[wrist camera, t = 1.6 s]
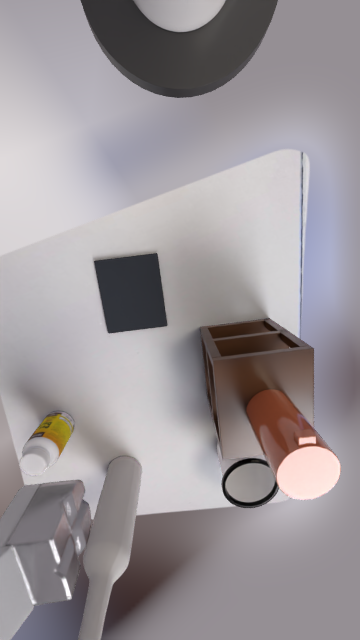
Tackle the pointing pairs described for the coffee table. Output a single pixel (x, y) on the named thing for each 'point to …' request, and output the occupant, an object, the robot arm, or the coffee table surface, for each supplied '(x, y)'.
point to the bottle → (110, 540)
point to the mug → (247, 480)
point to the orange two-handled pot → (292, 446)
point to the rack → (252, 377)
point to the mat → (131, 292)
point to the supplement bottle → (46, 443)
